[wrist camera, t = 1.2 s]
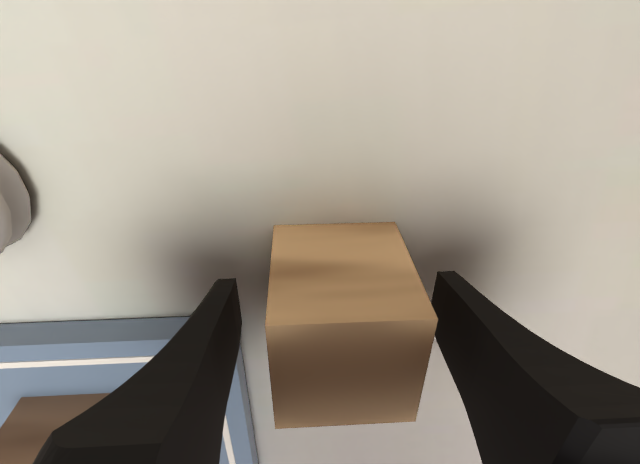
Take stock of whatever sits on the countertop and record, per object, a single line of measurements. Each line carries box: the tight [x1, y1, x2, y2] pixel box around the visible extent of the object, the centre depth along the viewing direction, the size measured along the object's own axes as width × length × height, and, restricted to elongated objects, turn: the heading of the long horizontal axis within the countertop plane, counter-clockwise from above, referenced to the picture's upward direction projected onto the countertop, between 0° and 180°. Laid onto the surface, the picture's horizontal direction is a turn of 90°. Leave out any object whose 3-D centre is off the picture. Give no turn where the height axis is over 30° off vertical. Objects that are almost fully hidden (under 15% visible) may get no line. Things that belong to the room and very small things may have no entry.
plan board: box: [0, 317, 258, 464], centre depth 17 cm, size 12×12×4 cm
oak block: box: [265, 222, 438, 429], centre depth 13 cm, size 4×4×5 cm
